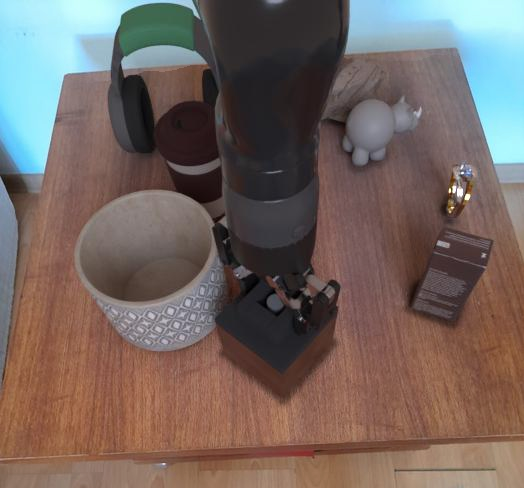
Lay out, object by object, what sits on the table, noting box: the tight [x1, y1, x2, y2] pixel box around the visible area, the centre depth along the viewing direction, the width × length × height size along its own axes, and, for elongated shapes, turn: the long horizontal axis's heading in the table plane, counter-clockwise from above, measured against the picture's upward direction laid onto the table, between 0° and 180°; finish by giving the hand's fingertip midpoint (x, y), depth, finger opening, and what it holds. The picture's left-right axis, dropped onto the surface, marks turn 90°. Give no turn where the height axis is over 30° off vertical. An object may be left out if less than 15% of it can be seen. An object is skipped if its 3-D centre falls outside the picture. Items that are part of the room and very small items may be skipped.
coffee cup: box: [154, 100, 225, 220], centre depth 67 cm, size 10×10×15 cm
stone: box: [321, 56, 388, 124], centre depth 78 cm, size 15×9×10 cm
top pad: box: [237, 280, 307, 346], centre depth 53 cm, size 6×6×3 cm
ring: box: [445, 159, 478, 219], centre depth 68 cm, size 7×3×8 cm, turn 168°
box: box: [409, 225, 494, 323], centre depth 59 cm, size 6×4×12 cm
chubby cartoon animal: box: [341, 94, 423, 167], centre depth 73 cm, size 7×12×8 cm, turn 107°
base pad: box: [215, 278, 339, 374], centre depth 54 cm, size 10×10×4 cm
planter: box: [73, 189, 229, 352], centre depth 61 cm, size 16×16×13 cm
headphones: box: [107, 2, 220, 155], centre depth 71 cm, size 19×11×20 cm, turn 93°
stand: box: [216, 312, 339, 399], centre depth 59 cm, size 10×10×8 cm
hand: (276, 309), depth 54 cm, fingers open, 7 cm apart
